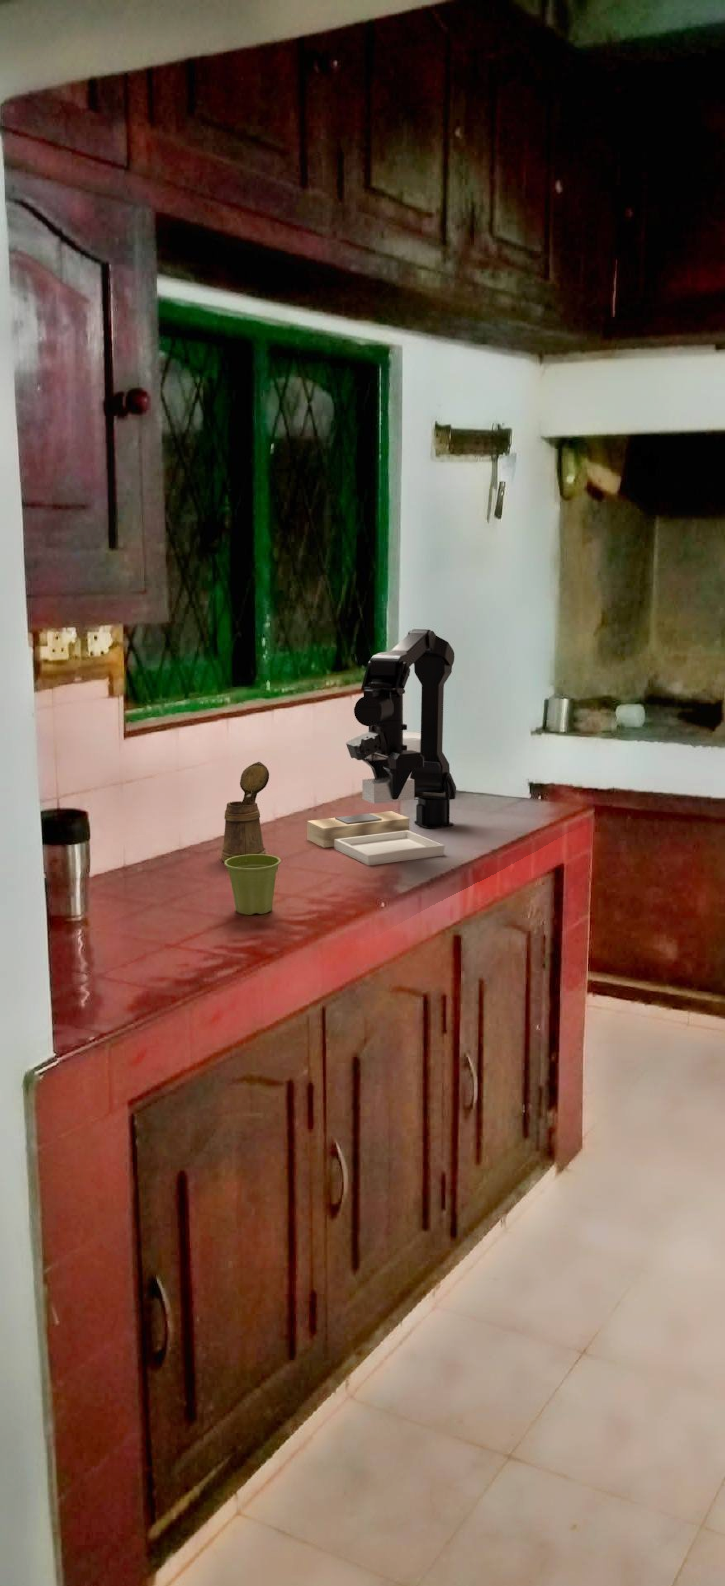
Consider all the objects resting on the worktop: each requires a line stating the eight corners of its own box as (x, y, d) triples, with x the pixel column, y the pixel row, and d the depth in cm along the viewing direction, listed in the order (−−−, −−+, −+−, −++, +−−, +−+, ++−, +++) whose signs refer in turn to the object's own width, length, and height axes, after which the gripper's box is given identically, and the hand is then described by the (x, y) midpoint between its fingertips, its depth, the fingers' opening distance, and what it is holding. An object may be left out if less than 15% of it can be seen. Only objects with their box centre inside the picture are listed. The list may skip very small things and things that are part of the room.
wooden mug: (282, 849, 252) (280, 762, 249) (255, 866, 240) (253, 774, 236) (241, 846, 255) (239, 760, 252) (213, 862, 243) (210, 771, 239)
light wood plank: (391, 829, 270) (391, 809, 269) (409, 836, 263) (409, 816, 262) (307, 839, 261) (306, 819, 260) (323, 847, 254) (323, 827, 253)
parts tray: (407, 839, 260) (407, 830, 260) (444, 855, 247) (444, 845, 247) (334, 848, 253) (334, 839, 252) (368, 865, 239) (368, 855, 239)
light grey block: (402, 794, 252) (402, 775, 251) (414, 799, 247) (414, 779, 247) (362, 799, 248) (362, 779, 247) (374, 804, 244) (373, 783, 243)
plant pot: (259, 921, 205) (258, 870, 203) (214, 913, 210) (213, 863, 208) (292, 907, 213) (291, 858, 211) (248, 899, 217) (247, 851, 216)
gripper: (330, 716, 249) (331, 792, 252) (373, 728, 233) (374, 810, 236) (380, 712, 254) (380, 787, 257) (425, 724, 238) (425, 804, 241)
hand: (388, 796), depth 248 cm, fingers closed on light grey block, 5 cm apart
